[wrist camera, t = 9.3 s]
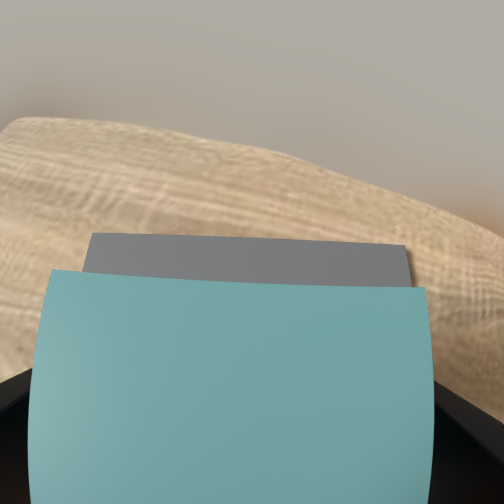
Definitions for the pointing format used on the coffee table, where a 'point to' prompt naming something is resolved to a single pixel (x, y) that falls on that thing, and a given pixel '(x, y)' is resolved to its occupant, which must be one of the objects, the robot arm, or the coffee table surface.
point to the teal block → (229, 393)
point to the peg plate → (249, 260)
